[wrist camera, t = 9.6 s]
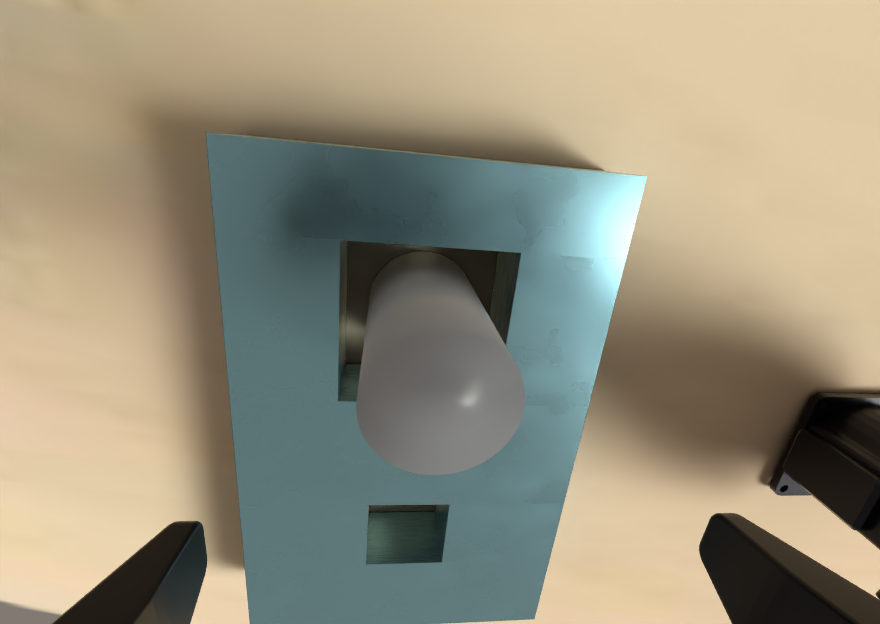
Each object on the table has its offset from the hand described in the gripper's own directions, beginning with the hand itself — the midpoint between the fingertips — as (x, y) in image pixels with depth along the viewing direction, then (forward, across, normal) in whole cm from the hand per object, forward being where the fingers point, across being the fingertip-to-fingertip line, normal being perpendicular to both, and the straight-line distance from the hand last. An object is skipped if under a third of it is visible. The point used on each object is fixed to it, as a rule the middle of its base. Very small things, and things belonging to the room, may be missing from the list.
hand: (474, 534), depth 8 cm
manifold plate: (+12, 0, +5) cm, 13 cm away
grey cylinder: (+12, 0, 0) cm, 12 cm away
